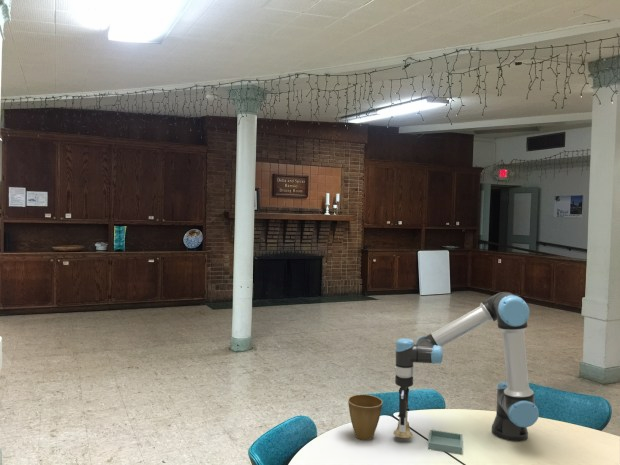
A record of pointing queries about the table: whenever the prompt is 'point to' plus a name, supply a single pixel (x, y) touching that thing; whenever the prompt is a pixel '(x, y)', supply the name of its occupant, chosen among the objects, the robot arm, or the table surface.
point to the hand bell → (403, 434)
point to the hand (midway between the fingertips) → (403, 428)
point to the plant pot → (364, 414)
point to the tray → (445, 441)
